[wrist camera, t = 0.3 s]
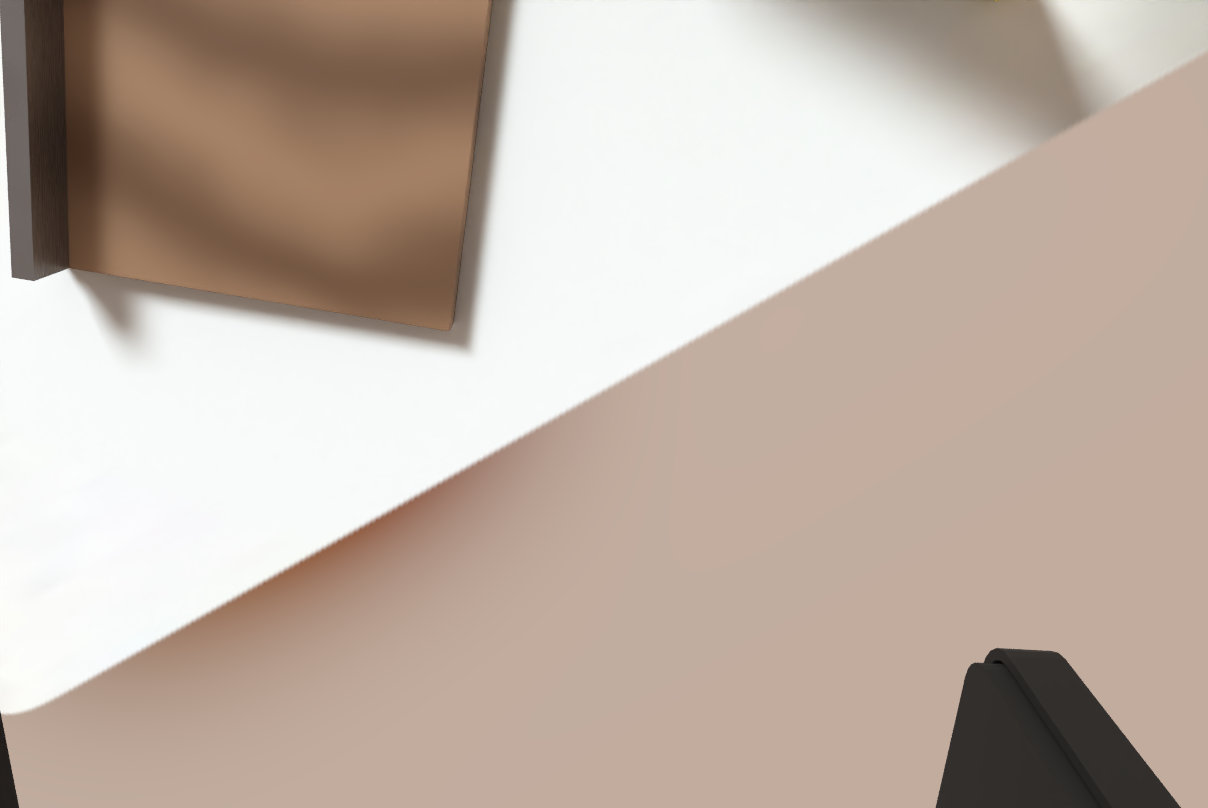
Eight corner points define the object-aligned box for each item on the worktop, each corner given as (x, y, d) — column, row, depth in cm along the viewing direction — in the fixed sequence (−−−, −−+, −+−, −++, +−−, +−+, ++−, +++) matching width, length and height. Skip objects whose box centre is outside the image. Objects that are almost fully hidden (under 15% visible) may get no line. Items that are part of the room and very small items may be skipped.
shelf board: (45, -331, 31) (23, -346, 30) (521, -236, 32) (517, -247, 31) (60, 257, 38) (43, 263, 36) (453, 323, 38) (448, 331, 37)
